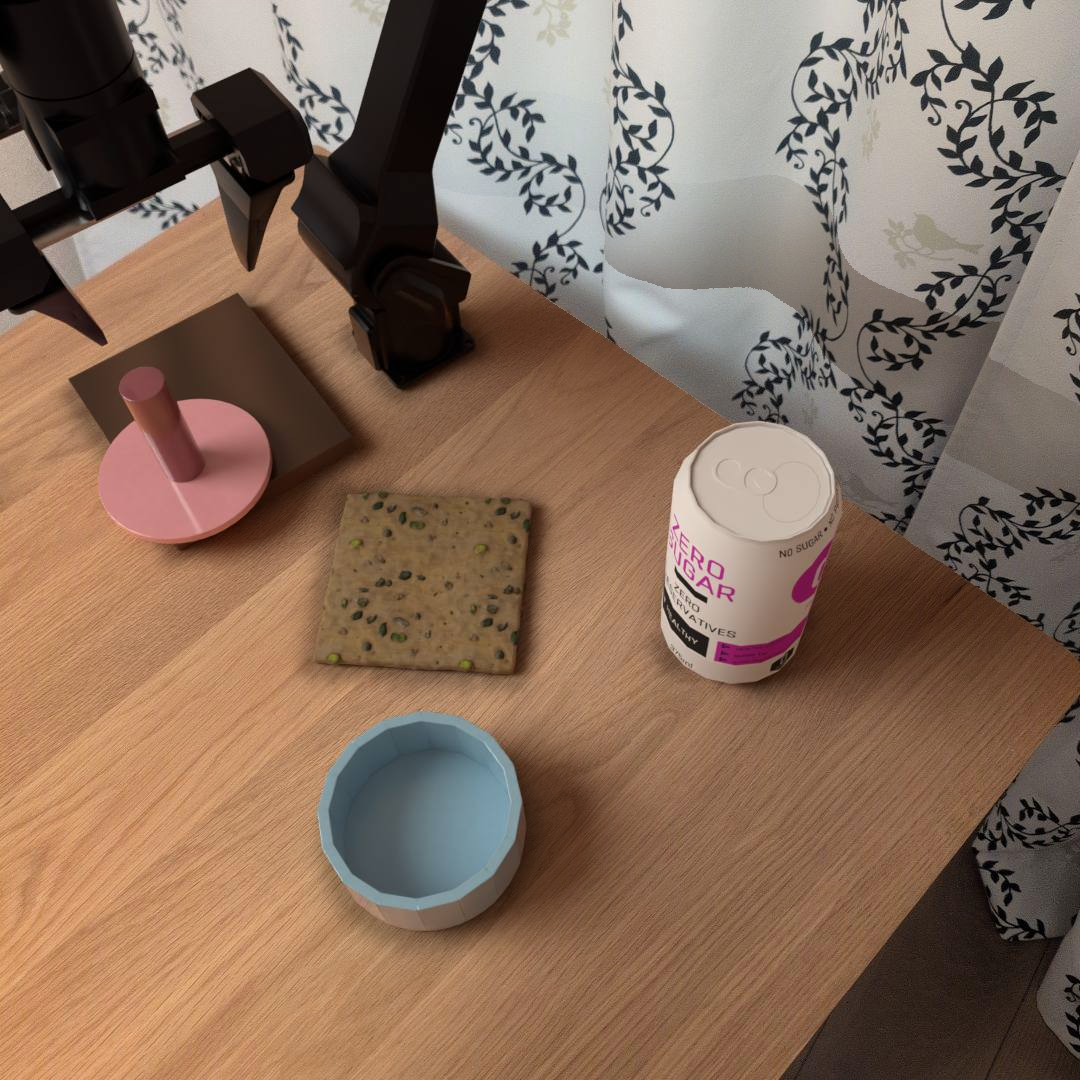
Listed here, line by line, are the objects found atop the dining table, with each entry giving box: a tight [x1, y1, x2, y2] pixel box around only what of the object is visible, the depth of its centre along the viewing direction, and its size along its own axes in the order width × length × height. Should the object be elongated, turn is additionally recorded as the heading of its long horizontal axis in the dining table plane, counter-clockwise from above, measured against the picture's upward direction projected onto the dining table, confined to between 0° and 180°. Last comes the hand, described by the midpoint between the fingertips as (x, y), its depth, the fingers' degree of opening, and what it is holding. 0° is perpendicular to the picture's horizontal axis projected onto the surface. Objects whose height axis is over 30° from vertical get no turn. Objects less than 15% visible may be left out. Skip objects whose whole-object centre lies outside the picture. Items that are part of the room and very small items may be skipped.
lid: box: [97, 367, 272, 545], centre depth 69 cm, size 11×11×9 cm
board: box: [67, 292, 357, 551], centre depth 77 cm, size 13×16×2 cm
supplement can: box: [660, 420, 843, 685], centre depth 61 cm, size 8×8×15 cm
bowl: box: [316, 710, 527, 932], centre depth 60 cm, size 10×10×4 cm
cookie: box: [312, 491, 533, 675], centre depth 69 cm, size 12×12×1 cm
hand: (176, 302), depth 65 cm, fingers open, 9 cm apart
